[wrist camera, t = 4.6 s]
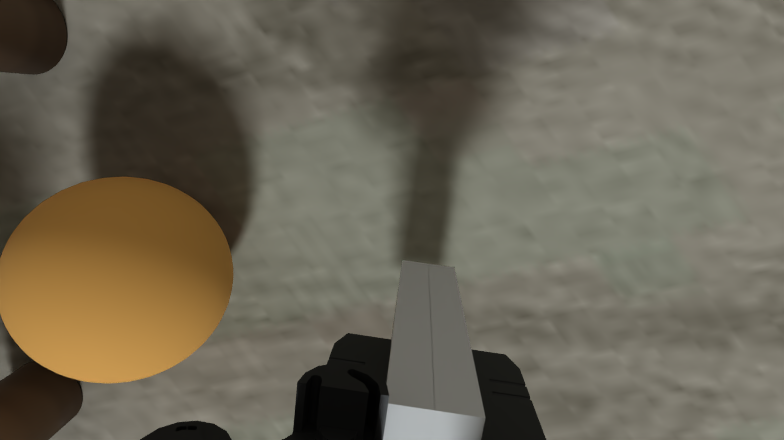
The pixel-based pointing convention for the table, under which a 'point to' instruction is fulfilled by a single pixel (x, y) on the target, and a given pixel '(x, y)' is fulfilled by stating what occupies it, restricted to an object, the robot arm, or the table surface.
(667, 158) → the table surface
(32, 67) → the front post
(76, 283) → the ball
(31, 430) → the post
